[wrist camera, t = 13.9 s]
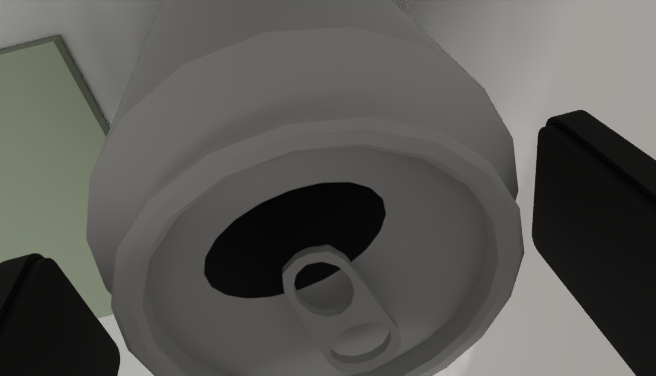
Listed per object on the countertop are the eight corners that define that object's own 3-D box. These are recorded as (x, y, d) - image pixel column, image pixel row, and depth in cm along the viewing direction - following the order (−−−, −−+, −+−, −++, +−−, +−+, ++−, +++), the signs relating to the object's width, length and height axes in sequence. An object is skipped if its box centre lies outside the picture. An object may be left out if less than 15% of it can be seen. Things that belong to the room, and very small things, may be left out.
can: (315, -130, 14) (504, -69, 4) (407, 78, 18) (605, 336, 9) (107, 3, 15) (-98, 281, 6) (240, 170, 20) (254, 488, 10)
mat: (-252, 112, 15) (-268, 121, 15) (58, 34, 15) (53, 41, 15) (-18, 339, 22) (-23, 350, 22) (192, 283, 23) (192, 293, 22)
